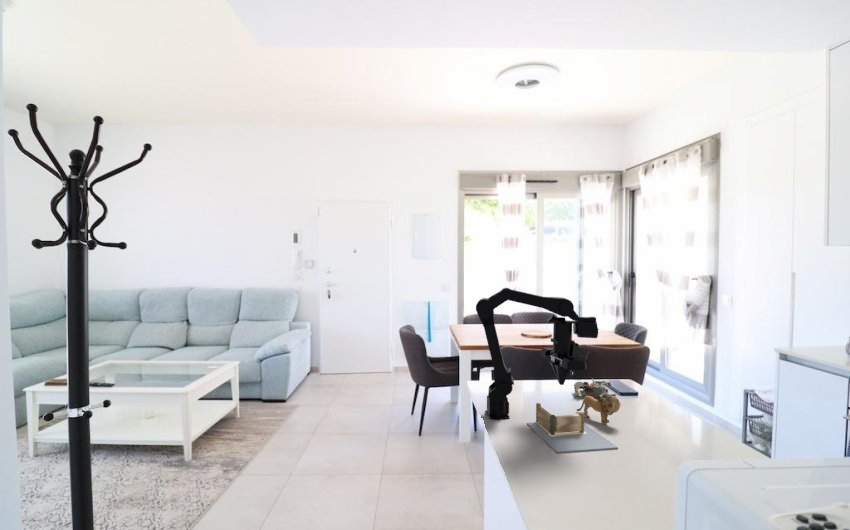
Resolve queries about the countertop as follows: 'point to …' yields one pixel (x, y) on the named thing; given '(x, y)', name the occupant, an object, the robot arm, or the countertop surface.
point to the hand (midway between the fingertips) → (561, 384)
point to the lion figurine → (601, 406)
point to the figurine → (592, 389)
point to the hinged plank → (569, 423)
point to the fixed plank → (545, 419)
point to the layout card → (573, 440)
